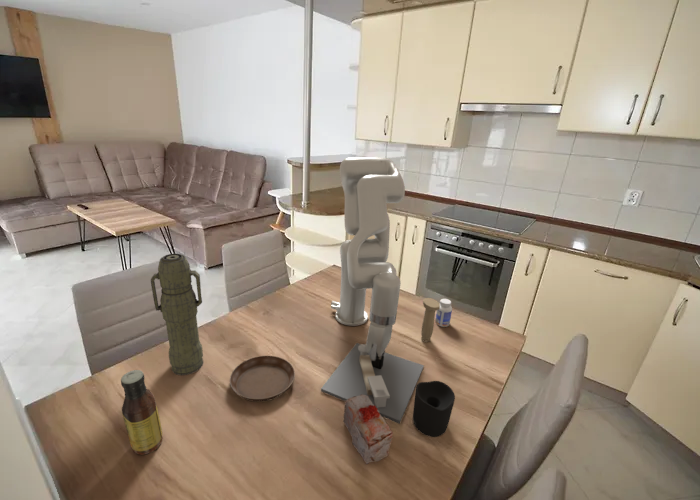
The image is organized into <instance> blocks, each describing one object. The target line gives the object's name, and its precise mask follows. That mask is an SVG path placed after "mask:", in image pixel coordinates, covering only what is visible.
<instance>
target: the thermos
mask: <svg viewBox="0 0 700 500" xmlns="http://www.w3.org/2000/svg"><path fill="white" fill-rule="evenodd" d="M157 271H158V272H157V273H153V275H152V276H151V278H150V284H151V291H152V297H153V303H154V309H155V311H160V313H162V319H164V321H165V325H166V331H167V339H168V343H169V344H168V345H169V347H168V348H169V349H168V359H169V365H170V366H171V371H172V373H173V374H175V375H178V376H187V375H192V374H193V373H196V372H197V371H199V370H200V369H201V368H202V367H203V365H204V359H203V357H204V353H203V346H202V342H201V340H200V335H199V328H198V318H197V315H198V307H199V306H201V305H202V303H203V297H202V289H201V288H202V286H201V276H200V273H199V272H198V271H196V270H192V269H191V266H190V263H189V261H188V259H187V257H186V256H185V255H184V254H181V253H169V254H166V255H163V256H162V257H161V258H160V259H159V263H158V267H157ZM192 276H193V277H194V278H195V283H196V291H197V293H196V292H195V291H194V289H193V285H192ZM156 279H157V280H159V284H160V288H161V297H160V299H159V300H160V301H158V295H157V290H156V288H157V287H156V283H155V281H156ZM196 294H197V295H196ZM159 302H160V304H159Z"/></svg>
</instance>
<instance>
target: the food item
mask: <svg viewBox="0 0 700 500" xmlns="http://www.w3.org/2000/svg"><path fill="white" fill-rule="evenodd" d="M343 410H344V411H343V419H342V420H343V421H342V422H343V423H344V425H345V427H346V428H347V430H348V432H349V435H350V436H351V440H352V441H351V442H352V446H353V447H354V448H355V449H356V450H357V452H358V454H359V455H360V456H361V457H362V459H363V462H365V464H366V465H367V464H370V463H373V462H380V461H381V460H382V459H385V458H387V457H388V456H389V453H390V448H391V444H392V443H393V441H392V439H393V436H394V435H393V430H391V428H390V426H389V424H387V421H386V420H385V418H384V417H382V416H381V415H380V413H379V410H378V409H377V408H376V406H374V404H372V402H371V400H370V399H369V397H368V396H366V395H359V396H354V397H352V398H349V399H347V400H346V401H344V409H343Z"/></svg>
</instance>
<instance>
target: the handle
mask: <svg viewBox="0 0 700 500" xmlns="http://www.w3.org/2000/svg"><path fill="white" fill-rule="evenodd" d="M422 304H423V307H424V308H425V310H424V314H423V319H422V325H421V333H420V334H421V341H422V342H424V343H427V342H428V343H429V342H431V338H432V336H433V332H434V325H435V318H436V312H437V310H439V309H440V302H438V301H437V300H436V299H434V298H431V297H426V298H423V299H422Z"/></svg>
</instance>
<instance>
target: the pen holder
mask: <svg viewBox="0 0 700 500" xmlns="http://www.w3.org/2000/svg"><path fill="white" fill-rule="evenodd" d="M414 393H415V394H414V401H413V411H412V423H413V425H414V427H415V428H416V429H417V431H418V432H419V433H421V434H422V435H425V436H427V437H430V438H437V437H441V436H443V435H444V434H445V433H446V432H447V429H448V425H449V423H450V419H451V415H452V411H453V407H454V404H455V400H456V395H455V392H454V390H453V389H452V388H451V387H450V386H449V385H448V384H447V383H445V382H442V381H440V380H433V381H432V380H431V381H421V382H417V384H416V387H415V390H414Z"/></svg>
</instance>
